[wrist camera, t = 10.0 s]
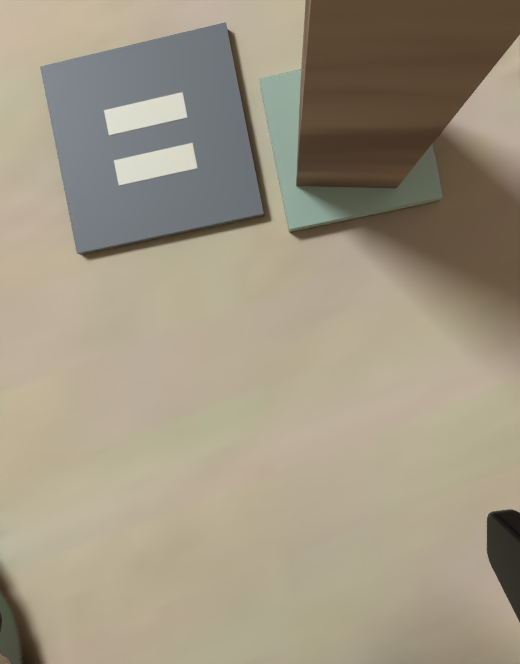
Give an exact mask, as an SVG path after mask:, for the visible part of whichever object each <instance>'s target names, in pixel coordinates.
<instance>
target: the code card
mask: <svg viewBox="0 0 520 664" xmlns="http://www.w3.org/2000/svg"><path fill="white" fill-rule="evenodd" d="M40 68H41V73H42V78H43V83H44V88H45V93H46V98H47V103H48V108H49V113H50V119H51V124H52V129H53V134H54V139H55V144H56V149H57V154H58V159H59V164H60V169H61V174H62V179H63V185H64V190H65V195H66V200H67V205H68V210H69V215H70V220H71V225H72V230H73V235H74V240H75V245H76V251H77V253H78V254H80V255H82V254H87V253H91V252H96V251H101V250H105V249H110V248H115V247H119V246H124V245H129V244H134V243H138V242H143V241H148V240H152V239H157V238H162V237H166V236H171V235H176V234H181V233H185V232H190V231H195V230H199V229H204V228H209V227H213V226H218V225H223V224H228V223H232V222H237V221H242V220H246V219H251V218H256V217H260V216H264V213H263V207H262V202H261V197H260V192H259V187H258V182H257V177H256V172H255V167H254V162H253V157H252V152H251V147H250V142H249V137H248V132H247V127H246V122H245V117H244V111H243V106H242V101H241V96H240V91H239V86H238V81H237V76H236V71H235V66H234V61H233V56H232V51H231V46H230V41H229V36H228V31H227V26H226V22H225V23H221V24H217V25H213V26H209V27H204V28H200V29H196V30H192V31H188V32H183V33H179V34H175V35H171V36H167V37H163V38H158V39H154V40H150V41H146V42H142V43H137V44H133V45H129V46H125V47H121V48H116V49H112V50H108V51H104V52H100V53H96V54H91V55H87V56H83V57H79V58H75V59H70V60H66V61H62V62H58V63H54V64H49V65H45V66H41V67H40Z"/></svg>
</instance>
